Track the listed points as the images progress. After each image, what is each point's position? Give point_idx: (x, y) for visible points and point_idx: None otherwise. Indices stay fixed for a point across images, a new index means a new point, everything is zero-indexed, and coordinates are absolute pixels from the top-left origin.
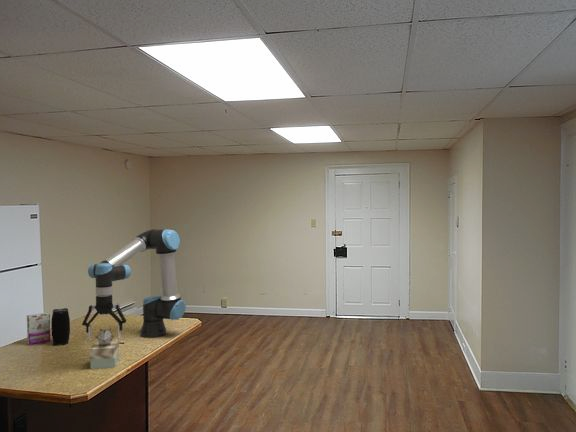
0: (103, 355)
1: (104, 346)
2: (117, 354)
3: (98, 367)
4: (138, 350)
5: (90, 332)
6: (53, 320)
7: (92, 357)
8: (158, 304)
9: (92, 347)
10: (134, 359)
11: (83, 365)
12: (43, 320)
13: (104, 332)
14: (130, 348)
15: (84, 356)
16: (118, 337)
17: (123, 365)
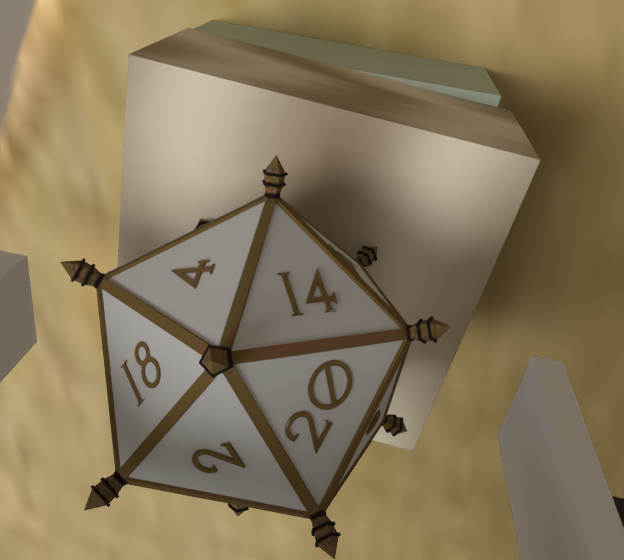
0: (319, 73)
1: None
2: None
3: (395, 54)
4: (61, 423)
5: (550, 490)
6: None
7: (475, 108)
8: None
9: (481, 234)
10: (46, 209)
11: (544, 236)
12: None
13: (222, 341)
14: (135, 489)
15: (503, 467)
16: (6, 258)
17: (125, 56)
